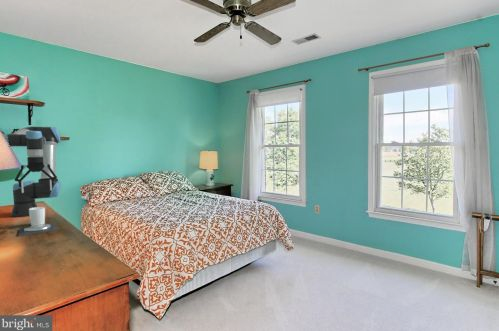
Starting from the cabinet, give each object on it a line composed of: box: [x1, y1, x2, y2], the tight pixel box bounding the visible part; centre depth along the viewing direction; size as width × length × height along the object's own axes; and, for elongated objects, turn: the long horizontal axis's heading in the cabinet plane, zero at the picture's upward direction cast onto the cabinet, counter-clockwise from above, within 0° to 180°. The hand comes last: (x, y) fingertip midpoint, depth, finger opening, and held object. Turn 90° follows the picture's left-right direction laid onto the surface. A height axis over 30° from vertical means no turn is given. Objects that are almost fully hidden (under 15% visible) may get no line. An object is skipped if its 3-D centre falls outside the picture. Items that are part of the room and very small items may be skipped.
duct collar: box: [18, 222, 56, 237], centre depth 154 cm, size 14×16×2 cm
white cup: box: [29, 206, 46, 226], centre depth 165 cm, size 8×8×10 cm
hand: (37, 191), depth 164 cm, fingers open, 13 cm apart
